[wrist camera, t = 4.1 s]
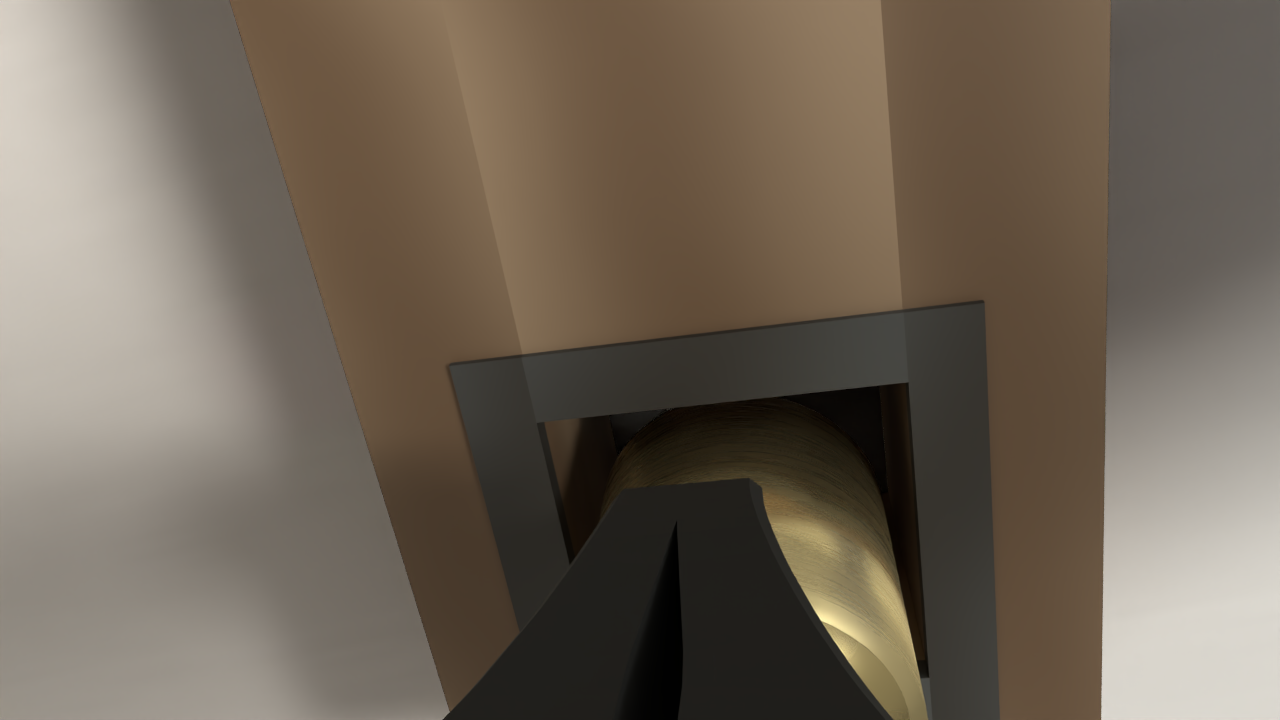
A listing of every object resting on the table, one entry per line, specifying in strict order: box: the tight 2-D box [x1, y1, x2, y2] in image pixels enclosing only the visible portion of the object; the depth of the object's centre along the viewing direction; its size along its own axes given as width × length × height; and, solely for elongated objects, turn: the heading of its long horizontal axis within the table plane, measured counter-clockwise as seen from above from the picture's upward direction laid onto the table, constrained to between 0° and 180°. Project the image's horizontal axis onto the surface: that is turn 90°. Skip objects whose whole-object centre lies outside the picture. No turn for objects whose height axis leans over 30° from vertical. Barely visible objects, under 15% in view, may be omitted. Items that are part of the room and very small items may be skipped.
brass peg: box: [599, 397, 928, 720], centre depth 15 cm, size 4×4×4 cm
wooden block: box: [230, 0, 1111, 720], centre depth 16 cm, size 10×24×5 cm, turn 9°
